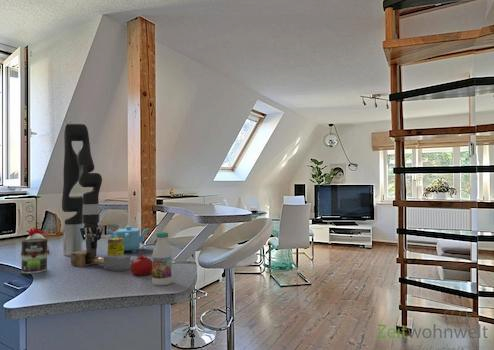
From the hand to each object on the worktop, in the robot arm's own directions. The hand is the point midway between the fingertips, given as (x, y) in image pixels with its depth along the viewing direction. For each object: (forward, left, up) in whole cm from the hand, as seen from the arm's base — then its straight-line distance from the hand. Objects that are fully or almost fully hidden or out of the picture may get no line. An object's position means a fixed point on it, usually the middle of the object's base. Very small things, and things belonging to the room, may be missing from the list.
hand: (91, 248), depth 173 cm
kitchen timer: (-55, +7, -8) cm, 56 cm away
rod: (+5, 0, -7) cm, 9 cm away
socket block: (-6, 0, -8) cm, 10 cm away
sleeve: (+17, 0, -8) cm, 19 cm away
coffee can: (-15, -19, -8) cm, 25 cm away
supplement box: (0, +15, -8) cm, 17 cm away
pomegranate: (+34, -2, -8) cm, 35 cm away
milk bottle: (+52, -10, -8) cm, 54 cm away
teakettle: (-12, +36, -8) cm, 39 cm away
